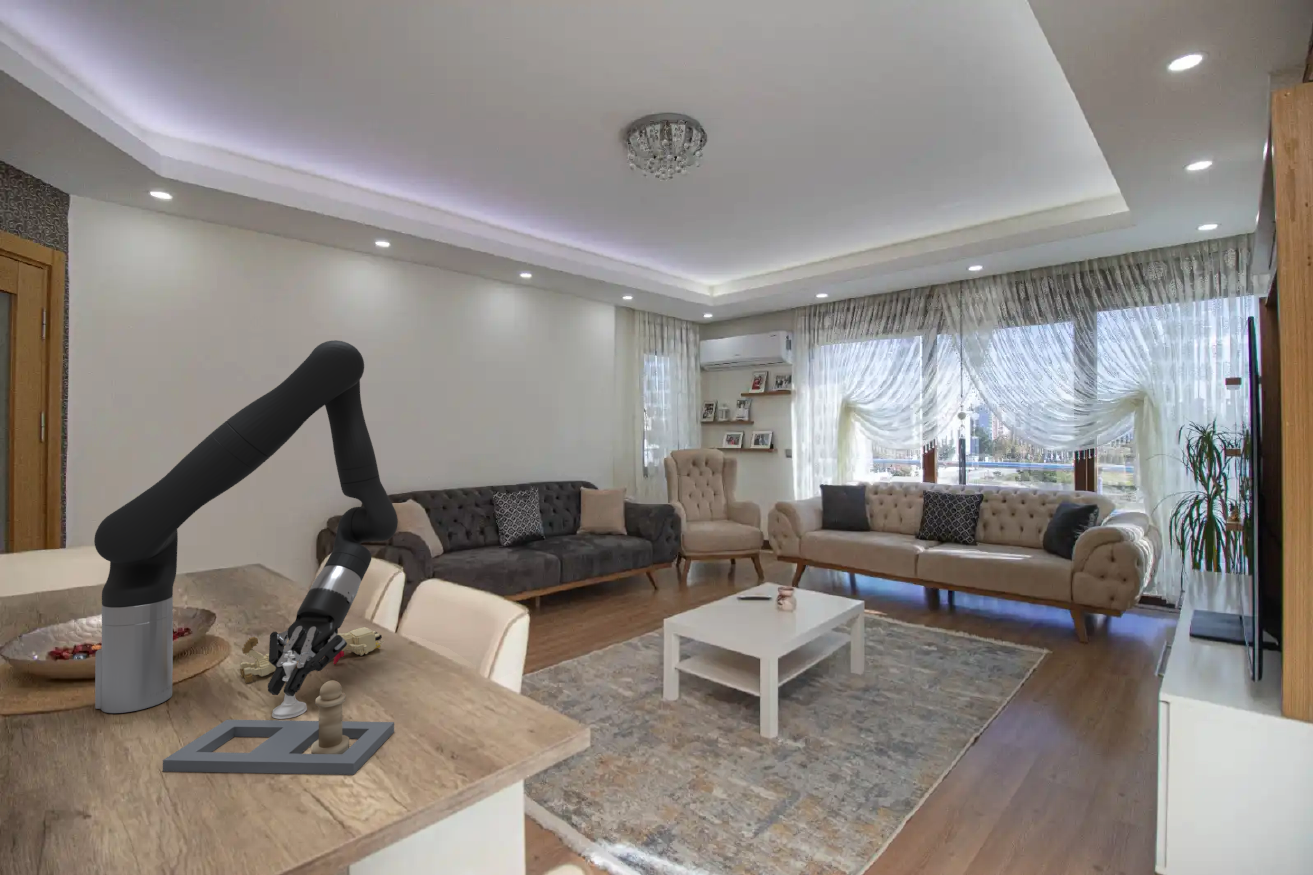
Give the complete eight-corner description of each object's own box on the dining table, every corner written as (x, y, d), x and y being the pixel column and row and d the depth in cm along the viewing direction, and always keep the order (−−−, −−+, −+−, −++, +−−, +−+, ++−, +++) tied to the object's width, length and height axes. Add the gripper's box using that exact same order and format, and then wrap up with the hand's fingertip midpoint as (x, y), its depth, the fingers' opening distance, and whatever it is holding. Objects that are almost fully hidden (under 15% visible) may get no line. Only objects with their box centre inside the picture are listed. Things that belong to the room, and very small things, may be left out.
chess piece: (290, 720, 98) (291, 657, 98) (264, 717, 99) (264, 655, 99) (313, 707, 103) (314, 647, 103) (288, 704, 104) (288, 645, 104)
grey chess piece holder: (162, 771, 83) (162, 760, 83) (227, 729, 95) (227, 719, 95) (353, 774, 82) (353, 763, 82) (394, 731, 94) (394, 722, 94)
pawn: (304, 759, 86) (304, 687, 86) (323, 742, 91) (323, 674, 91) (338, 760, 86) (338, 688, 86) (355, 743, 91) (355, 675, 91)
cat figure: (250, 695, 111) (391, 651, 128) (245, 647, 111) (388, 609, 128) (239, 679, 118) (374, 639, 135) (234, 634, 118) (370, 600, 135)
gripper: (284, 584, 109) (227, 681, 97) (357, 587, 107) (308, 686, 95) (305, 606, 114) (253, 700, 102) (375, 609, 113) (331, 705, 101)
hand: (280, 693), depth 99 cm, fingers closed on chess piece
